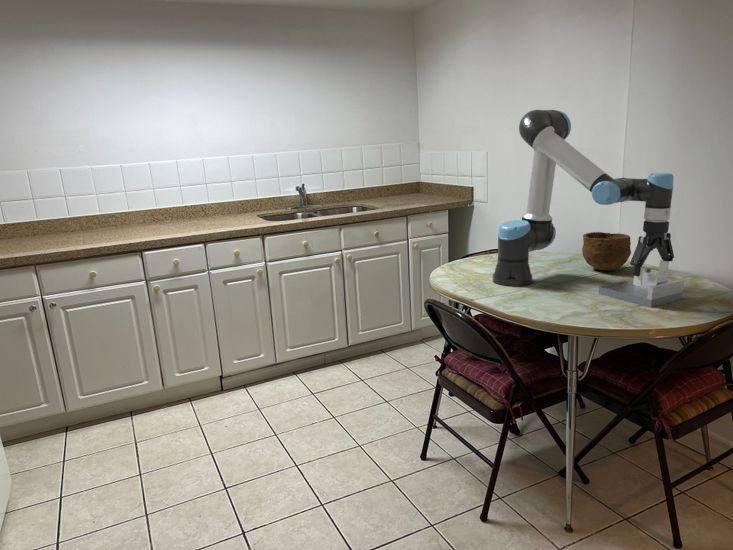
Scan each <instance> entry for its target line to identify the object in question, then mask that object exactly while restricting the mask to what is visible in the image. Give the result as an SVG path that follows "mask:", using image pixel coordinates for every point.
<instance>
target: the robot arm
mask: <svg viewBox="0 0 733 550" xmlns="http://www.w3.org/2000/svg"><path fill="white" fill-rule="evenodd" d="M518 130H519V135H520V137H521V139H522V140H523V141H524V142H525V143H526V144H528V146H530V147H531V148H532V150H533V157H532V159H533V160H532V167H531V173H530V174H531V175H530V180H529V181H530V182H529V189H528V197H527V198H528V199H527V205H526V212H525V213H523V214H522V216H521V219H514V220H507V221H505V222H502V223H501V224H499V227H498V233H497V238H498V239H497V262H496V265H495V269H494V272H493V273H492V282H493V283H494V284H497V285H501V286H507V287H508V286H510V287H520V286H521V287H522V286H527V285H530V284H532V283H533V275H532V271H531V268H530V264H529V258H530V257H529V255H530V252H534V251H541V250H544V249H545V248H548V247H549V246H551V245H552V244H553V242H554V240H555V238H556V231H557V230H556V228H555V226H554V224H553V217H552V216H551V215H550V208H551V207H550V206H551V203H552V194H553V187H554V180H555V172H556V167H557V166H558V167H560V168H561V169H562V170H563V171H565V172H566V173H567V174H568V175H569V176H571V178H573V179H574V180H576V182H578V183H579V184H580V185H582V186H583V187H584V188H585V189H586V190H588V191H589V192H591V196H592V199H593V201H594V202H595V203H597V204H599V205H600V206H601V205H603V206H604V205H605V206H607V205H609V206H611V205H613V204H618V203H625V202H628V201H629V202H630V201H632V202H645V203H644V204H645V206H644V211H643V212H644V214H643V219H644V221H643V227H642V231H643V233H645V236H641V235H640V236H638V238H637V239H638V241H637V244H636V247H635V250H634V253H633V254H632V257H631V260H630V263H629V265H630V266H634V268H633V285H637V286H642V281H643V271H644V269H645V266H643V265H644V264H645V262H646V260H647V258H648V257H649V254H650V253H651V252H652V251H653V250H655V249H656V250H657V252H658V254H659V256H660V258H661V260H659V267H658V271H662V272H667V273H669V263H670V262H673V261H674V258H675V255H674V249H673V245H672V240H671V235H672V234H671V233H670V232H669V228H670V222H669V220H670V215H671V208H672V207H671V206H672V199H673V192H674V191H673V190H674V175H673V174H672V173H671V172H651V173H649V174H648V175H647V178H630V177H618V178H617V177H615V178H613V177H611V176H610V175H609V174H607V172H605V171H604V170H603V169H602V168H600V167H599V165H596V164H595V163H594V162H593V161H591V160H590V159H589V158H588V157H586V156H585V155H583V154H582V153H581V152H580V151H579V150H578V149H576V148H575V147H574V146H572V145H571V144H570V143H569V142H567V141H566V139H567V138H568V137H569V135H570V133H571V130H572V123H571V120H570V118H569V116H568V115H567V114H566V113H565V112H564V111H561V110H555V109H534V110H533V109H532V110H530V111H528V112H526V113H525V114H524V115H523V116H522V118H521V119H520V121H519V125H518ZM556 165H557V166H556Z"/></svg>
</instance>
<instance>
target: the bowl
mask: <svg viewBox="0 0 733 550" xmlns="http://www.w3.org/2000/svg"><path fill="white" fill-rule="evenodd" d="M582 237H583V245H582V248H581V253H582V256H583V259H584V260H585V262H586V264H587V265H589V266H590V267H592V268H593V269H595V270H599V271H604V272H605V271H606V272H607V271H615V270H618V269H620V268H621V267H623V265H625V264H626V263H627V261H628V260H629V258H630V256H631V255H632V249H631V244H632V243H631V236H630V235H628V234H626V233H619V232H618V233H610V232H604V231H603V232H602V231H595V232H593V231H592V232H586V233H584V234H583V235H582Z"/></svg>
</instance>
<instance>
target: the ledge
mask: <svg viewBox="0 0 733 550" xmlns="http://www.w3.org/2000/svg"><path fill="white" fill-rule="evenodd" d="M633 281H634V279H628V280H627V279H626V280H622V281H619V282H614V283H610V284H606V285H605V284H604V285H601V286H598V294H599V295H603V296H606V297H611V298H613V299H614V298H615V299H618V300H622V301H626V302H629V303H632V304H637V305H640V306H644V307H649V308H654V307H657V306H660V305H664V304H669V303H672V302H675V301H680V300H682V299H683V292H684V287H685V286H684V285H685V284H684V283H685V280H684V279H677V280H676V279H675V280H672V281H668V282H667V283H663V284H659V285H655V286H651V287H648V294H647V293H643V292H638V291H634V285H633Z"/></svg>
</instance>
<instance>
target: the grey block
mask: <svg viewBox="0 0 733 550" xmlns="http://www.w3.org/2000/svg"><path fill="white" fill-rule="evenodd" d="M669 275H670V273H669V272H668V273H667V272H662V271H659V270H658V269H652V268H647V267H646V268H644V271H643V281H642V286H637V285H634V291H638V292H643V293H647V294H648V287H651V286H655V285H659V284H663V283H667V282H669Z"/></svg>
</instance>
